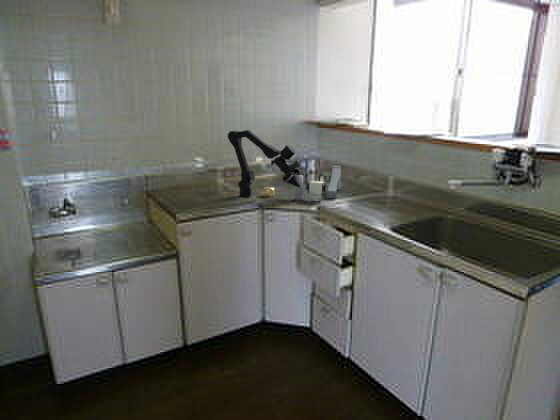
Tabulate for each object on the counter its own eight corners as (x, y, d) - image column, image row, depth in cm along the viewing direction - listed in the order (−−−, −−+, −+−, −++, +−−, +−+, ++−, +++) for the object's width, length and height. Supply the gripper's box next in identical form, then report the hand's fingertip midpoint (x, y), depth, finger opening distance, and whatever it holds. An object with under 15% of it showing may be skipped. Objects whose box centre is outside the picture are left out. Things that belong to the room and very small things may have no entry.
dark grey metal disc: (292, 200, 220) (292, 198, 219) (294, 198, 226) (294, 196, 226) (303, 201, 218) (303, 199, 218) (305, 198, 224) (305, 197, 224)
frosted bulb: (294, 199, 219) (295, 176, 216) (293, 197, 224) (294, 175, 221) (304, 199, 219) (304, 176, 216) (303, 196, 225) (303, 174, 221)
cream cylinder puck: (262, 196, 230) (262, 188, 228) (265, 194, 236) (265, 186, 235) (272, 197, 228) (272, 189, 227) (275, 195, 234) (275, 187, 233)
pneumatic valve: (324, 202, 215) (325, 181, 212) (305, 200, 220) (306, 179, 217) (328, 200, 219) (329, 180, 216) (309, 198, 225) (310, 178, 222)
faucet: (337, 213, 232) (342, 184, 254) (336, 191, 222) (342, 162, 244) (326, 212, 234) (333, 183, 256) (325, 190, 224) (332, 162, 246)
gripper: (288, 157, 208) (307, 178, 208) (297, 154, 226) (315, 173, 225) (274, 171, 213) (293, 192, 212) (284, 167, 230) (302, 186, 229)
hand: (301, 185), depth 219 cm, fingers open, 8 cm apart
